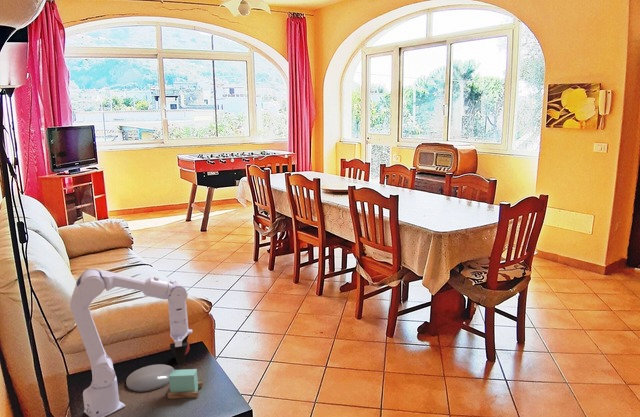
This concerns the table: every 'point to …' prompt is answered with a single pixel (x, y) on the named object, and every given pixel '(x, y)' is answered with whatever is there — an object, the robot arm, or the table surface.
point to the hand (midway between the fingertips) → (181, 357)
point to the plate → (149, 378)
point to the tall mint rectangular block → (183, 380)
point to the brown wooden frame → (183, 393)
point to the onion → (187, 349)
